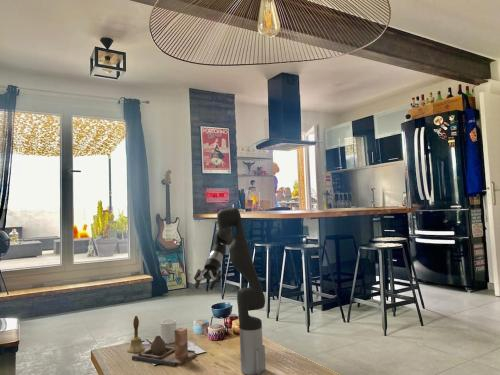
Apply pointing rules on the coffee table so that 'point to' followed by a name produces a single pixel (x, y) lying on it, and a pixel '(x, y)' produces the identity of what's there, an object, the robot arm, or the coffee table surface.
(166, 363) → the lane rails
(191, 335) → the coffee table surface
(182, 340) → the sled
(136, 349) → the hand bell
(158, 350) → the vase
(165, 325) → the white cup
